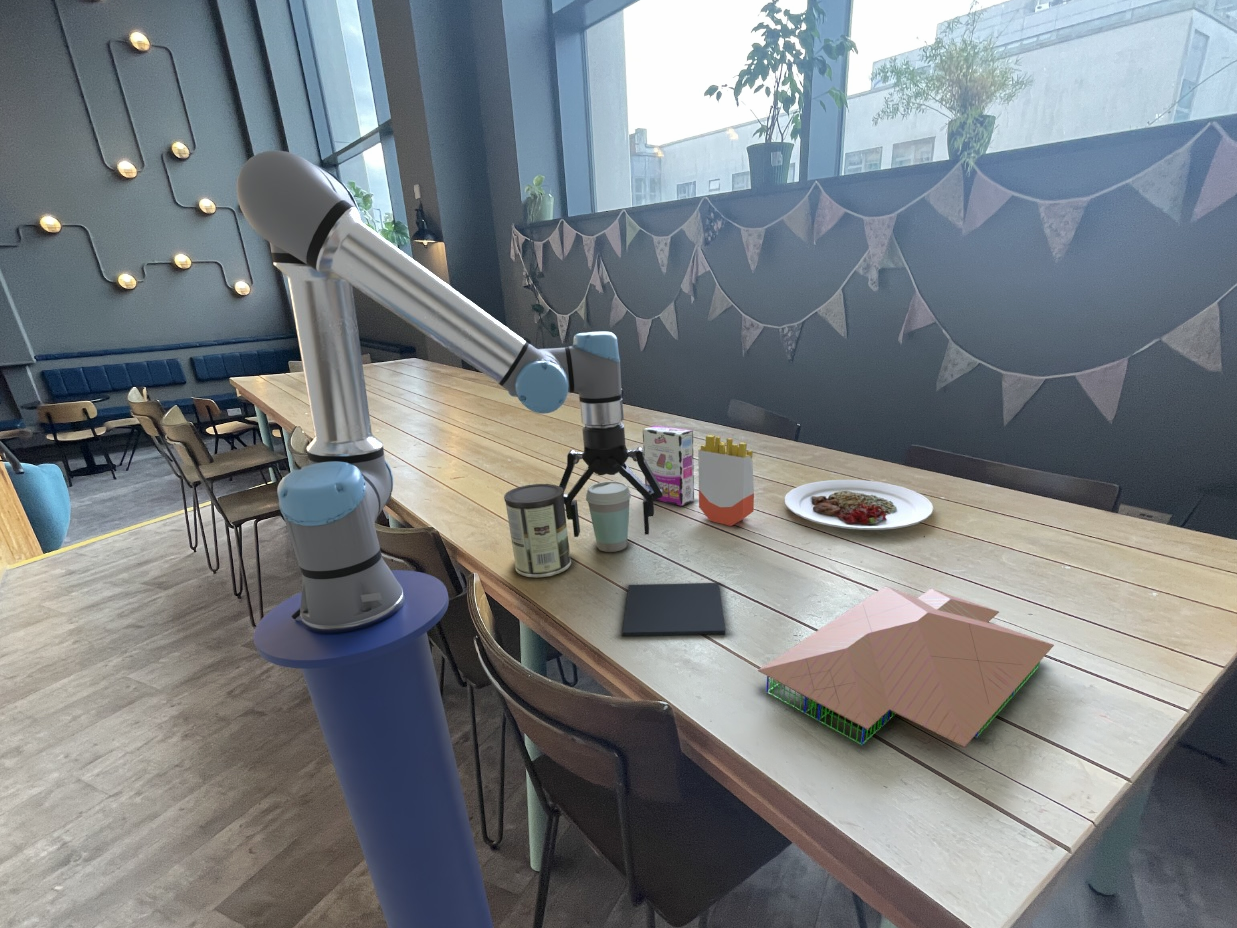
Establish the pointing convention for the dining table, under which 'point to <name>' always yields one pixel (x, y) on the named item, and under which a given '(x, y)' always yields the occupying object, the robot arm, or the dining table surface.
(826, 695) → the house
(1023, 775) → the dining table surface
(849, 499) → the plated food
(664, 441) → the candy bar box
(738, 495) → the french fries container
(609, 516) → the coffee cup
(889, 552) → the dining table surface
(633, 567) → the dining table surface
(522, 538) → the coffee can
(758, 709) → the dining table surface
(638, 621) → the mat
